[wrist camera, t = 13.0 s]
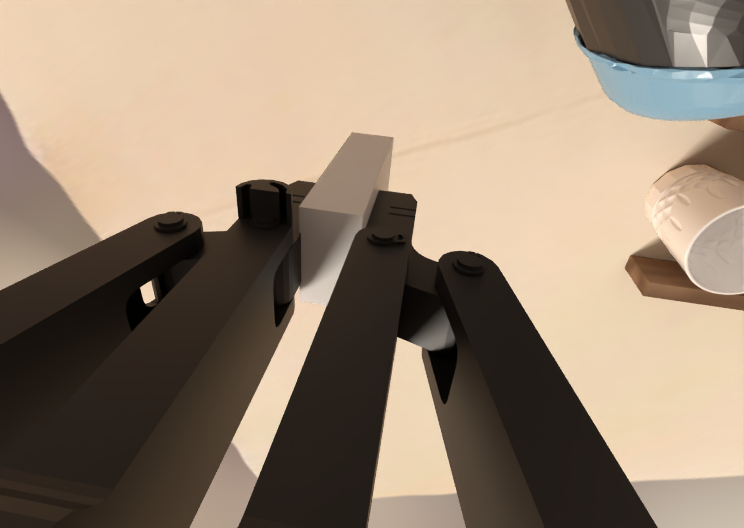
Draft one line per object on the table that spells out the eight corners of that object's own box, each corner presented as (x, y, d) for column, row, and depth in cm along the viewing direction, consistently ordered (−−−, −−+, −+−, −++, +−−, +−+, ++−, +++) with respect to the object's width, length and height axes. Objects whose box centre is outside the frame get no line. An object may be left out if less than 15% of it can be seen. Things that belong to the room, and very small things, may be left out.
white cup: (724, 141, 38) (804, 182, 29) (740, 215, 41) (817, 272, 32) (626, 181, 41) (673, 230, 32) (649, 247, 44) (697, 308, 35)
